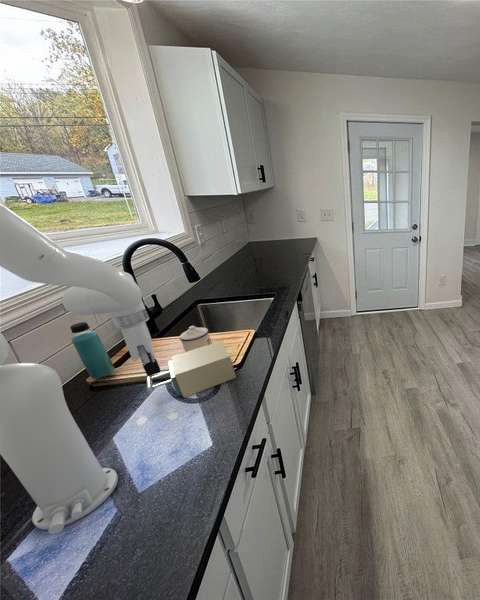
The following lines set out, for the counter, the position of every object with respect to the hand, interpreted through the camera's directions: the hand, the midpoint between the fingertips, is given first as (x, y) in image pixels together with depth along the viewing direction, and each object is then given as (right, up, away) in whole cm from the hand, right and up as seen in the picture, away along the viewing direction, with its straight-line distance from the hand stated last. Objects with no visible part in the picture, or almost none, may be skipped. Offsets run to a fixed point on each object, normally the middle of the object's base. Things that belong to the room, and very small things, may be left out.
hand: (154, 373), depth 93 cm
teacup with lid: (-2, +2, +25) cm, 25 cm away
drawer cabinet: (+10, -4, +9) cm, 14 cm away
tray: (+6, -4, +6) cm, 10 cm away
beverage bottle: (-27, -5, +13) cm, 31 cm away
